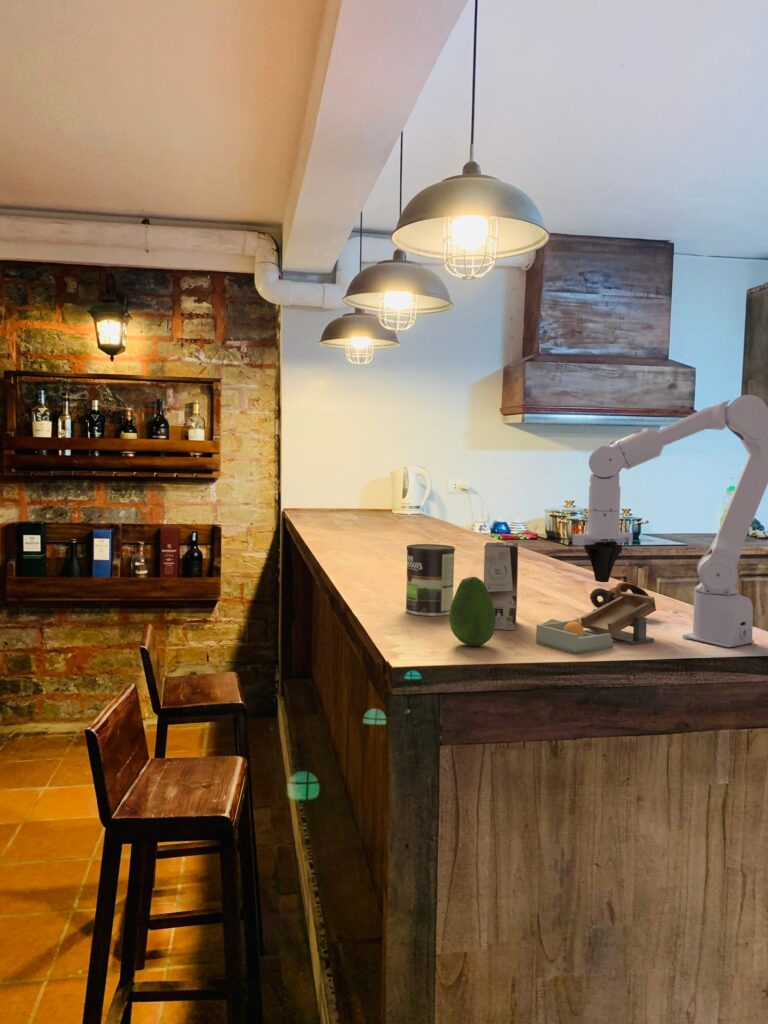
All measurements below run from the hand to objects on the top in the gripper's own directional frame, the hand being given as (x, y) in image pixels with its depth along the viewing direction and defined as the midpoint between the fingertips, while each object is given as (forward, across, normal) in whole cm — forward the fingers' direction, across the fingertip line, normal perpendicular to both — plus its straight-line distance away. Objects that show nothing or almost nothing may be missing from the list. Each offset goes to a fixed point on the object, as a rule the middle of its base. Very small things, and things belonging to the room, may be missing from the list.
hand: (601, 581), depth 143 cm
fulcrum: (+9, +2, +6) cm, 11 cm away
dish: (+9, +14, +6) cm, 18 cm away
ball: (+7, +14, +6) cm, 17 cm away
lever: (+7, +3, +3) cm, 9 cm away
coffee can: (+10, +18, -31) cm, 37 cm away
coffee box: (+10, +14, -13) cm, 21 cm away
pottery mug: (+10, -14, -8) cm, 19 cm away
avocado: (+10, +30, -2) cm, 32 cm away
